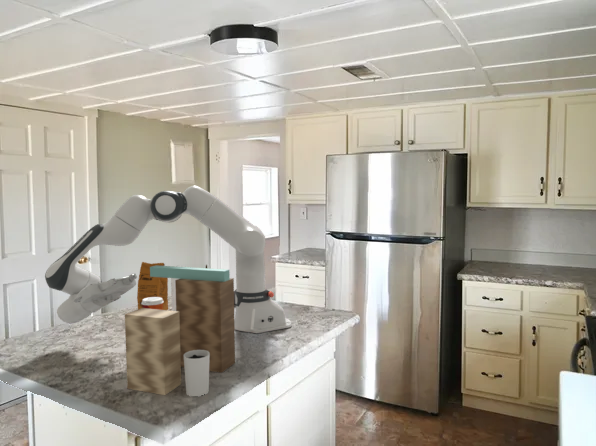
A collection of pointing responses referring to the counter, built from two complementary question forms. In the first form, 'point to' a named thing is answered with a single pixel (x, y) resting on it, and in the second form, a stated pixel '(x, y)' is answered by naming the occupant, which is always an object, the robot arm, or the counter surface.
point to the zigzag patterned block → (153, 350)
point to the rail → (190, 273)
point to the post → (207, 320)
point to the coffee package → (151, 285)
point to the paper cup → (153, 303)
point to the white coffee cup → (196, 372)
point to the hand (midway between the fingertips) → (124, 278)
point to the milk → (174, 292)
